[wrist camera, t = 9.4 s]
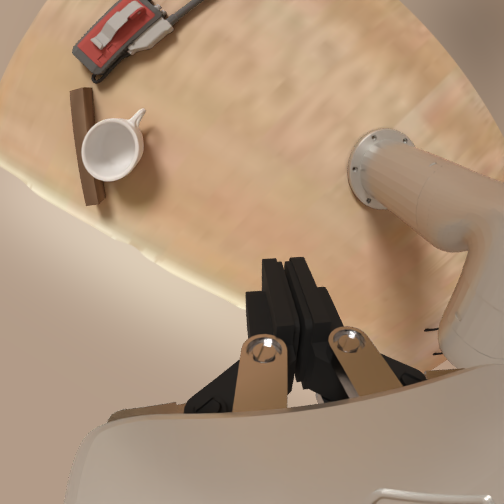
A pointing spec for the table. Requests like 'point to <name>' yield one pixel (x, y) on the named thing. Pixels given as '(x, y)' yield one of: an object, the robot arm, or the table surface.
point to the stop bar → (81, 126)
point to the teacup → (113, 147)
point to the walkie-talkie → (124, 34)
